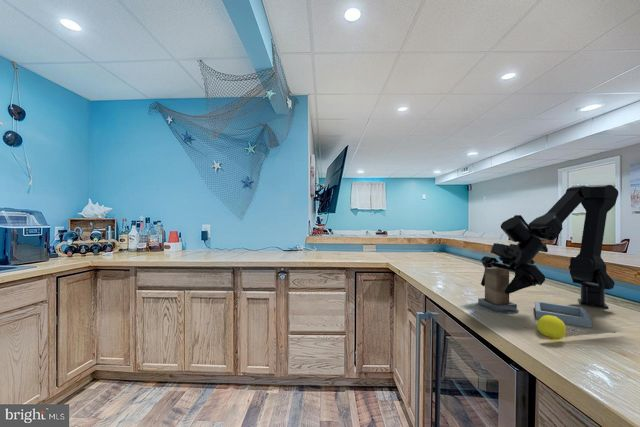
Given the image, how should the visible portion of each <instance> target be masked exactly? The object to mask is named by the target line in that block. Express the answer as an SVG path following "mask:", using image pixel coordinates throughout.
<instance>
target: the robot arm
mask: <svg viewBox="0 0 640 427" xmlns="http://www.w3.org/2000/svg"><path fill="white" fill-rule="evenodd" d="M618 197H619V190H618V189H617V188H616V187H615V186H613V185H611V184H602V185H592V186H591V185H590V186H586V185H581V186H580V185H579V186H571V187H568V188H566V191H565V193H564V194H563V195H562V196H561V197H560V198H559V199H558V200H557V202H556V203H554V205H552V207H551V208H550V209H549V210H548V211H547V212H546V213H544V214H543V215H540V216H538V217H536V218H534V219H533V220H532V221H530V222H529V223H528V222H526V221H525V219H524V217H523V216H522V215H521V214H518V215H517V214H515V215H514V216H513V217H510V218H508V219H506V220H504V221H503V222H502V223H501V224H500V229H501V230H502V231H503V233H504V234H506V236H507V237H508V238H509V240H511V241H512V242H514V243H517V244H514V243H510V244H509V245H508V244H503V243H498V242H497V243H496V242H493V245H492V246H491V249H490V254H494V255H496V256H498V259H499V260H500V261H501V262H500V261H499V260H498V259H497V257H494V256H487V255H486V256H483V257H482V258H481V259H480V262H481V263H482V266H483V267H484V269H485V268H491V267H498V268H503V269H507V270H509V273H510V272H511V273H513V274H514V277H513V278H512V279H511V281H509V285H508V286H507V288H506V289H505V291H504V292H505V293H506V294H509V295H510V294H512V293H515V292H517V291H520V290H523V289H526V288H530V287H535V286H537V285H539V286H542V285H543V284H544V283H545V281H546V276H545V274H543V272H542V271H541V270H540V269H539V268H538V267H537V265H536V264H535V263H536V262H535V261H534V258H536V256H537V255H538V254H539V252H542V253H548V252H549V250H548V249H549V248H548V247H547V243H544V242H543V241H542V240H546V241H554V240H556V239H557V238H558V237H559V235H560V233H561V232H562V231H563V223H564V222H565V220H567V218H568V217H569V216H570V215H571V214H572V213H573V211H575V210H576V208H577V207H579V205H580V204H581V206H582V207H583V209H584V211H585V215H584V222H583V228H582V229H583V230H582V235H581V242H580V248H579V249H580V250H579V253H578V254H577V255H576V256H571V257H570V258H569V265H568V270H569V275H570V277H571V280H572V283H573V284H577V285H580V298H577V301H578V303H579V304H580V305H582V306H589V307H593V308H595V307H596V308H602V309H609V305H608V304H607V303H606V293H605V292H606V290H612V289H614V287H615V284H616V283H615V281H614V280H613V278H612V277H611V276H610V275H609V274H608V273H607V264H606V263H605V261H604V260H603V258H602V251H603V250H602V249H603V243H604V237H605V229H606V223H607V221H606V220H607V216H608V215H607V214H608V212H610V211H611V210H612V209H613V208H614V207H615V205H616V202H617V201H618ZM534 264H535V265H534ZM480 285H481V286H482V287H485V270H484V272H483V276H482V278H481V281H480Z"/></svg>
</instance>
